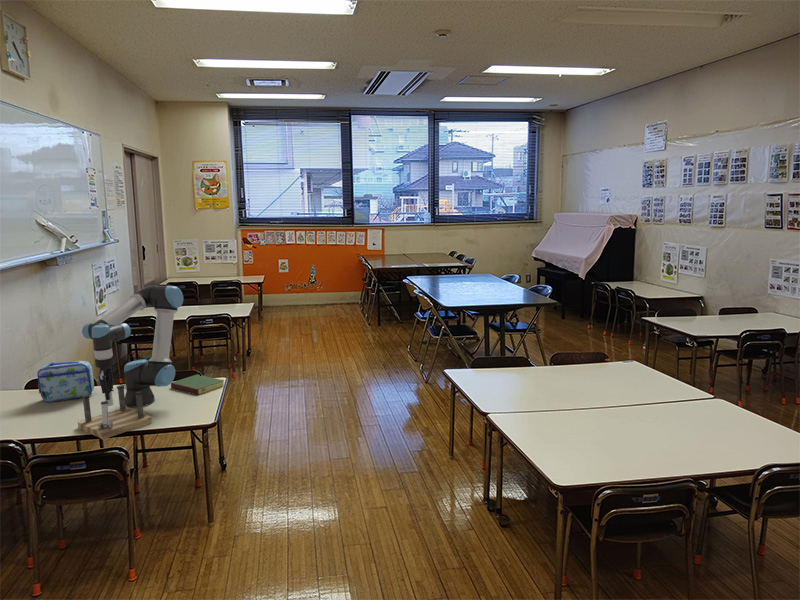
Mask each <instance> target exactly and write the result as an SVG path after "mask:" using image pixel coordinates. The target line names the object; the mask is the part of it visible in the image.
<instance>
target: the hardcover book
mask: <svg viewBox="0 0 800 600" xmlns="http://www.w3.org/2000/svg"><path fill="white" fill-rule="evenodd" d="M200 375H201V376H200ZM224 383H225V380H224V379H220V378H214V377H210V376H206V375H203V374H198V373H197V374H194V375H191V376H188V377H187V376H186V377H185V378H181V379H178V380H175V381H172V382H171V383H170V388H171V389H174V390H178V391H182V392H184V393H185V392H186V393H189V392H190V393H189V394H192V393H193V395H196V394H197V395H196V396H199V395H201V393H202V394H204V392H205V393H207V392H210V391H213V390H215V389H218V388H221V386H222V387H224V386H225V385H224Z"/></svg>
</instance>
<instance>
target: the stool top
mask: <svg viewBox="0 0 800 600" xmlns="http://www.w3.org/2000/svg"><path fill="white" fill-rule="evenodd" d="M116 389H117V394H118V395H117V396H118V402H119V403H118V404H119V409H115V410H112V411H110V412H109V411H108V418H109V423H108V424H109V429H102V424H103V423H102V414H100V415H97V416H93V417H92V412H91V405H90V404H91V403H90V402H91V401H90V396H89V395H84V396H82V398H81V399H82V403H83V411H84V419H83V420H80V421H77V428H78V429H80V430H82V431H84V432H86V433H89V434H90V435H93V436H95V437H97V438H99V439H100V440H106V439H109V438H111V437H114V436H117V435H121V434H124V433H126V432H129V431H132V430H135V429H138V428H141V427H144V426H146V425H149V424H150V425H151V424H152V423H153V417H152V416H151V415H148V414H145V413H144V412H145V411H144V406H143V402H142V392H140V391H139V392H135V395H136V403H137V407H136V410H135V409H132V408H131V407H127V406H126V405H125V385H122V384H121V385H116Z"/></svg>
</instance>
